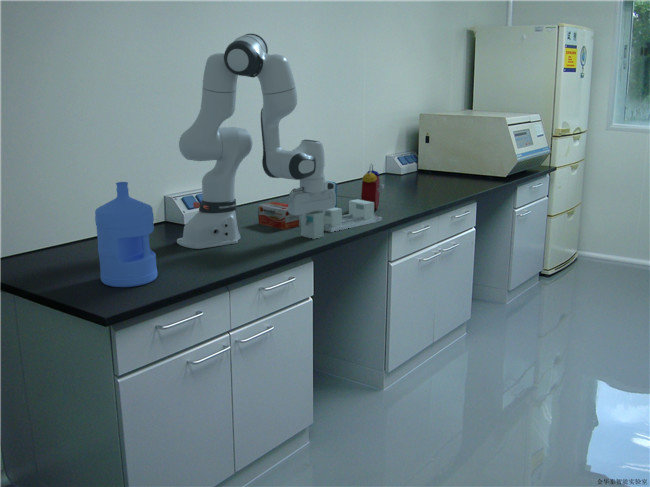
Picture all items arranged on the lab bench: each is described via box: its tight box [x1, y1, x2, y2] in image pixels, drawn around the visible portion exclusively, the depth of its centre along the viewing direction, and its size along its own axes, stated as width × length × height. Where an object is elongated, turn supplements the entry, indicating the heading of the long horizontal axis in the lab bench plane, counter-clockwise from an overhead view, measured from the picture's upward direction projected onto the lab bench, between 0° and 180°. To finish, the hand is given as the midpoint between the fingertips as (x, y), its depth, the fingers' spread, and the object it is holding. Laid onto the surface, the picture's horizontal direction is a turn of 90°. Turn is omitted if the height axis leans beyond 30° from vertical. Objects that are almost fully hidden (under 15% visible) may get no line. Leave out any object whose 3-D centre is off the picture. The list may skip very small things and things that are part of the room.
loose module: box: [300, 211, 325, 240], centre depth 237 cm, size 5×7×9 cm, turn 44°
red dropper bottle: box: [360, 163, 385, 211], centre depth 280 cm, size 15×9×20 cm, turn 168°
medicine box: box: [257, 201, 300, 231], centre depth 254 cm, size 15×8×8 cm, turn 47°
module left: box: [318, 207, 343, 227], centre depth 250 cm, size 5×9×6 cm, turn 44°
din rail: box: [324, 213, 383, 233], centre depth 257 cm, size 28×13×2 cm, turn 134°
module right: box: [348, 198, 375, 219], centre depth 262 cm, size 5×9×6 cm, turn 44°
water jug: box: [94, 181, 158, 288], centre depth 185 cm, size 16×16×28 cm
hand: (312, 223), depth 236 cm, fingers open, 6 cm apart
